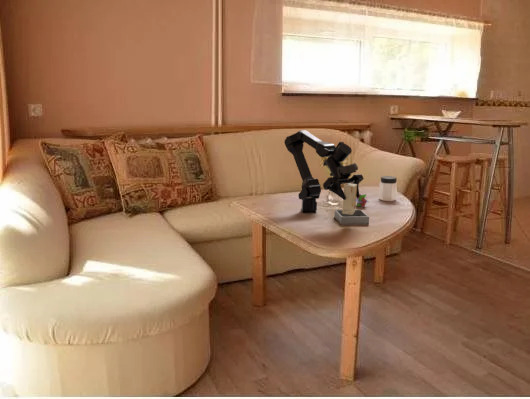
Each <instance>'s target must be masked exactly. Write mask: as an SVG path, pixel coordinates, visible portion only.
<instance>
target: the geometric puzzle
mask: <svg viewBox="0 0 530 399" xmlns="http://www.w3.org/2000/svg"><path fill="white" fill-rule="evenodd" d="M359 196H360V197H359V198H357V197H356V206H355V207H362V208H365V206H366V205H367V204H368V203H369V201H368V198H367V193H364V194H361V193H359Z"/></svg>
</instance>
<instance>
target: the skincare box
mask: <svg viewBox="0 0 530 399" xmlns="http://www.w3.org/2000/svg"><path fill="white" fill-rule="evenodd" d="M343 185H344V184H343ZM343 192H344V194H345V197H346V199H345V200H344V199H342V209H341V210H342V213H343V214H350V215H352V214H353V213H354V212H355V210H356V207H357V206H356V205H357V202H356V192H357V184H350V183H345V185H344V186H343Z"/></svg>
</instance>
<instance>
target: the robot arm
mask: <svg viewBox="0 0 530 399" xmlns="http://www.w3.org/2000/svg"><path fill="white" fill-rule="evenodd" d="M304 144H307V145H308V146H310V147H312V149H314V150H315V153H316V154H317V155H318V156H319V157H320V158H325V159H324V160H323V161H324V162H323V163H322V165H323V166H324V167H326V166H327V167H328V169H329V172H330V173H329V176H330V177H327V178H326V180H325V181H324V182H323V183H322V187H323V189H324V191H327V190H328V191H329V192H332V193H333V194H335V195H337V196H338V197H339V198H341V199H342V200H343V199H344V200H345V199H346V197H345V194H344V189H343V188H342V185H344V184H345V185H346V184H347V183H350V184H357V192H356V197H357V198H359V197H360V196H359V194H360V190H359V188H360V187H359V184H360V183H361V182H362V181H363V180H365V178H364V176H363V174H360V173H357V171H358V170H359V167H358V165H357V163H355V162H353V163H351V164H346V165H343V163H342V162H344V161H346V159H347V158H348V157H349V155H351V153H352V152H353V151H352V148H351V147H350V146H349V145H348V144H346V143H345V142H344V141H339V142H338V144H337V145H335V144H334V143H332V142H329V141H328V142H327V141H323V140H321V139H319V138H318V137H317V136H315V135H313V134H312V133H311V132H309V131H308V130H298V131H297V132H296V133H293V134H290V135H287V136H286V138H285V139H284V145H285V149H286V150H287V152H289V153H290V154H291V155H292V156H293V159H294V161H295V165H296V167H297V170H298V172H299V175H300V177H301V178H300V179H301V180H302V182H301V183H302V184H301V191H299V193H298V199H299V200H301V208H300V211H301V212H302V213H306V214H310V213H311V214H312V213H313V214H315V213H317V210H318V202H317V199H319V198H320V195H321V192H322V187H321V184H320V182H319V179H318V178H314V177H313V175H312V172H311V170H310V167H309V164H308V162H307V160H306V157H305V154H304V151H303V149H304ZM353 173H354V174H353ZM355 173H356V174H355ZM352 174H353V175H352Z"/></svg>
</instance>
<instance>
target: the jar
mask: <svg viewBox="0 0 530 399" xmlns="http://www.w3.org/2000/svg"><path fill="white" fill-rule="evenodd" d="M378 186H379V187H378V188H379V189H378V199H379V200H380V201H386V202H393V201H397V200H396V199H397V189H398V188H397V187H398V182H397V177H396V176H392V175H391V176H390V175H381V177H380V181H379V185H378Z"/></svg>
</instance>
